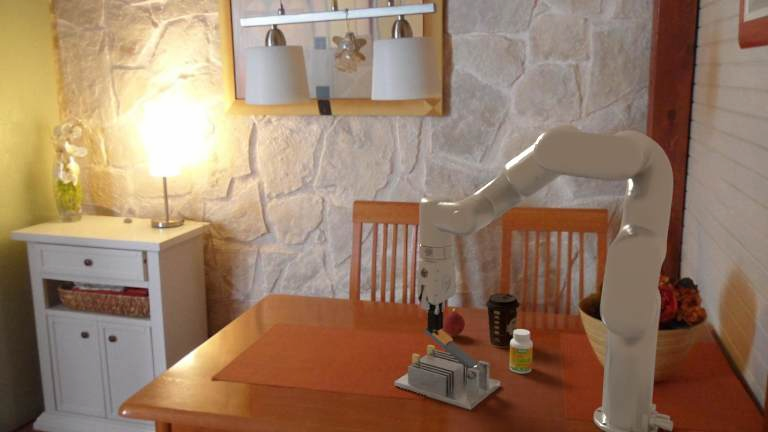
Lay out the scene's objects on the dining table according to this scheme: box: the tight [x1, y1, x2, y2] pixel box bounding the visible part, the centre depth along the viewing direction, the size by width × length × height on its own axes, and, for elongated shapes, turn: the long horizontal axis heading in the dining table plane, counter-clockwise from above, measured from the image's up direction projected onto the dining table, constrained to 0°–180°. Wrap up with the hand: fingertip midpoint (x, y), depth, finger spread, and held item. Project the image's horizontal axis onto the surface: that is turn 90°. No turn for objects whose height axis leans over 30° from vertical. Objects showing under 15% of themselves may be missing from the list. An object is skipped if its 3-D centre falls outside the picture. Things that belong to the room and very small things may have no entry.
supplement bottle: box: [509, 328, 534, 375], centre depth 167 cm, size 5×5×10 cm
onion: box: [443, 308, 466, 338], centre depth 188 cm, size 6×6×8 cm
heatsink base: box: [394, 344, 501, 411], centre depth 159 cm, size 20×14×7 cm
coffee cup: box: [485, 293, 521, 349], centre depth 182 cm, size 9×8×13 cm
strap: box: [423, 327, 486, 376], centre depth 157 cm, size 16×3×2 cm, turn 55°
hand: (435, 328), depth 159 cm, fingers closed
